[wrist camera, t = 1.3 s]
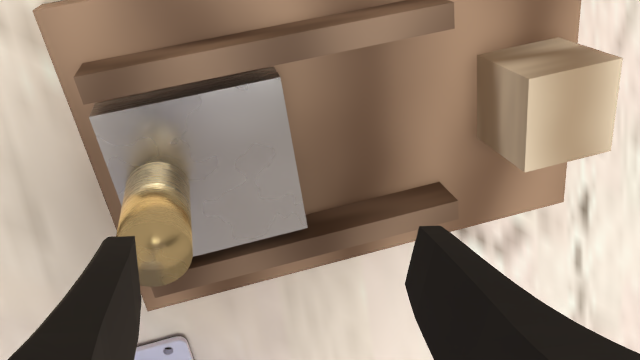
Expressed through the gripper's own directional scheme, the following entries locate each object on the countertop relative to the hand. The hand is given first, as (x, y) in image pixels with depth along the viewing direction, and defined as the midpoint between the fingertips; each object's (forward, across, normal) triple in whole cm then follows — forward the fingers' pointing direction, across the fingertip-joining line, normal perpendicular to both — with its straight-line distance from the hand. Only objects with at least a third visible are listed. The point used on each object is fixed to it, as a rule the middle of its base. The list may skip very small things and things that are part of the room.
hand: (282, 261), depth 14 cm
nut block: (+11, -12, 0) cm, 16 cm away
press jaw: (+10, +2, +3) cm, 10 cm away
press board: (+12, -4, +1) cm, 13 cm away
